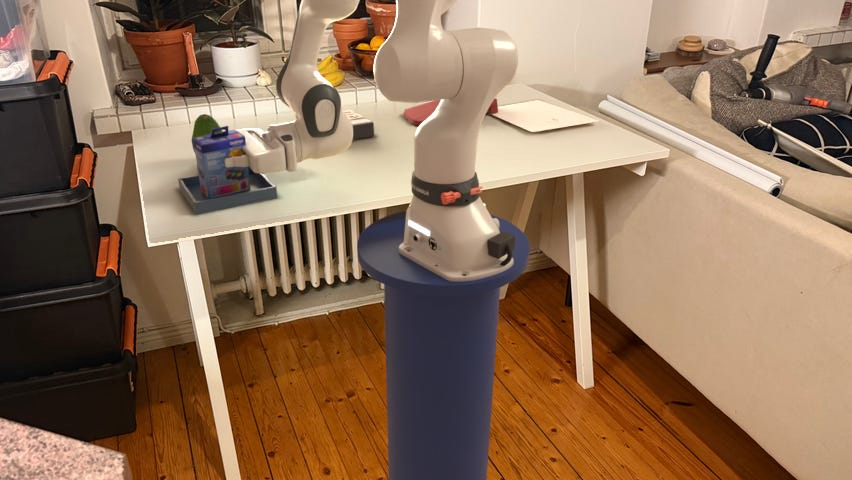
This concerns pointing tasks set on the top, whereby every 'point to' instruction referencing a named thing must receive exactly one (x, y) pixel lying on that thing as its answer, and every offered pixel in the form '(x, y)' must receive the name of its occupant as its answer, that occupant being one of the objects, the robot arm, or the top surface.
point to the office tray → (201, 204)
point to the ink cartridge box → (220, 163)
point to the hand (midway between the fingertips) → (218, 155)
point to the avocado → (204, 126)
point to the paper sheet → (540, 116)
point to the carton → (426, 110)
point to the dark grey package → (360, 125)
